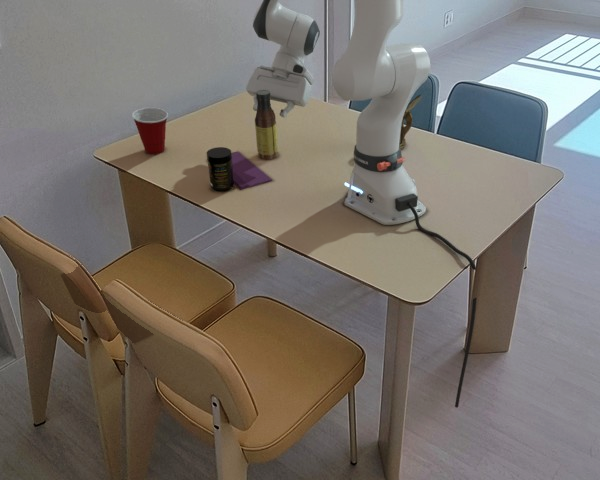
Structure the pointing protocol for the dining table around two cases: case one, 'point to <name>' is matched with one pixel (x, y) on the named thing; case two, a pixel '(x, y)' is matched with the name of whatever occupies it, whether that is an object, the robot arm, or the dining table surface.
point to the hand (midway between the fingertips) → (268, 113)
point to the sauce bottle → (265, 126)
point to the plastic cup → (151, 128)
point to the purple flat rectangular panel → (246, 172)
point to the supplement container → (220, 169)
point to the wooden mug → (408, 119)
